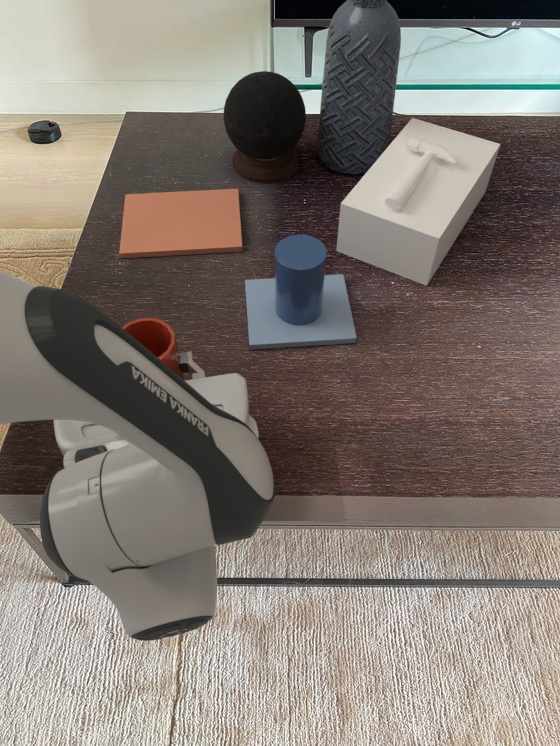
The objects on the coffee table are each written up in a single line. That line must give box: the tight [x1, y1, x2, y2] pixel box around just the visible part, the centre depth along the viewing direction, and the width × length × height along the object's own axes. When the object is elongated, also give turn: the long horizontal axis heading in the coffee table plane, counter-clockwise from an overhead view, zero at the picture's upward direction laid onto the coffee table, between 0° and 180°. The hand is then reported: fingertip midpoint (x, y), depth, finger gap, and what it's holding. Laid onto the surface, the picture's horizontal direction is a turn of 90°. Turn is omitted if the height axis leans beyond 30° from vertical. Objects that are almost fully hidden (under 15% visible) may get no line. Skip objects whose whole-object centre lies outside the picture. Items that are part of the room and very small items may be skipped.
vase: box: [316, 0, 402, 175], centre depth 96 cm, size 12×12×28 cm
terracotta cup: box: [121, 317, 185, 380], centre depth 70 cm, size 6×6×10 cm
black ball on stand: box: [223, 70, 307, 184], centre depth 100 cm, size 13×13×15 cm
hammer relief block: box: [335, 117, 501, 287], centre depth 92 cm, size 14×25×11 cm, turn 150°
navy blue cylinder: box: [274, 234, 328, 325], centre depth 80 cm, size 6×6×10 cm
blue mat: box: [244, 273, 358, 351], centre depth 84 cm, size 14×12×1 cm
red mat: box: [118, 188, 244, 259], centre depth 96 cm, size 18×14×1 cm
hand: (150, 360), depth 70 cm, fingers closed on terracotta cup, 6 cm apart
